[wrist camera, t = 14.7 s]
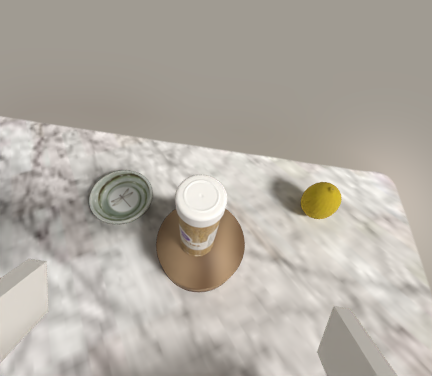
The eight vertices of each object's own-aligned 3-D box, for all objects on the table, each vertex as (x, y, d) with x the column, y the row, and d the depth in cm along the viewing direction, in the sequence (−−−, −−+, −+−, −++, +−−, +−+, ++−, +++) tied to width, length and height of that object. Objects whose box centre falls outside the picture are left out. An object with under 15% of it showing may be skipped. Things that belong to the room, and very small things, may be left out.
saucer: (126, 240, 35) (122, 235, 33) (81, 208, 37) (74, 201, 35) (166, 195, 40) (164, 188, 38) (123, 168, 42) (119, 160, 40)
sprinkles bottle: (173, 245, 31) (163, 200, 19) (193, 218, 33) (195, 164, 21) (202, 264, 30) (209, 230, 18) (220, 236, 32) (237, 189, 20)
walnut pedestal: (151, 285, 32) (145, 280, 28) (170, 208, 38) (168, 195, 34) (234, 298, 33) (240, 295, 28) (241, 220, 39) (247, 208, 34)
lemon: (288, 200, 42) (308, 177, 35) (315, 194, 43) (339, 170, 36) (302, 228, 39) (326, 209, 32) (329, 221, 40) (358, 201, 33)
